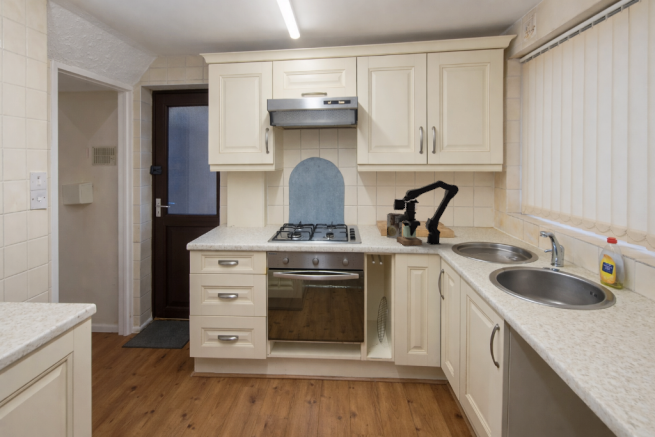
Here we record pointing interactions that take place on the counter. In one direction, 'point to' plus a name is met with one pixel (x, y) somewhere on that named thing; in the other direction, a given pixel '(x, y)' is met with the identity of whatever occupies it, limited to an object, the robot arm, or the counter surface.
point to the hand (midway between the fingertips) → (409, 234)
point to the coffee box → (393, 226)
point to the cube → (408, 232)
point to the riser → (409, 241)
